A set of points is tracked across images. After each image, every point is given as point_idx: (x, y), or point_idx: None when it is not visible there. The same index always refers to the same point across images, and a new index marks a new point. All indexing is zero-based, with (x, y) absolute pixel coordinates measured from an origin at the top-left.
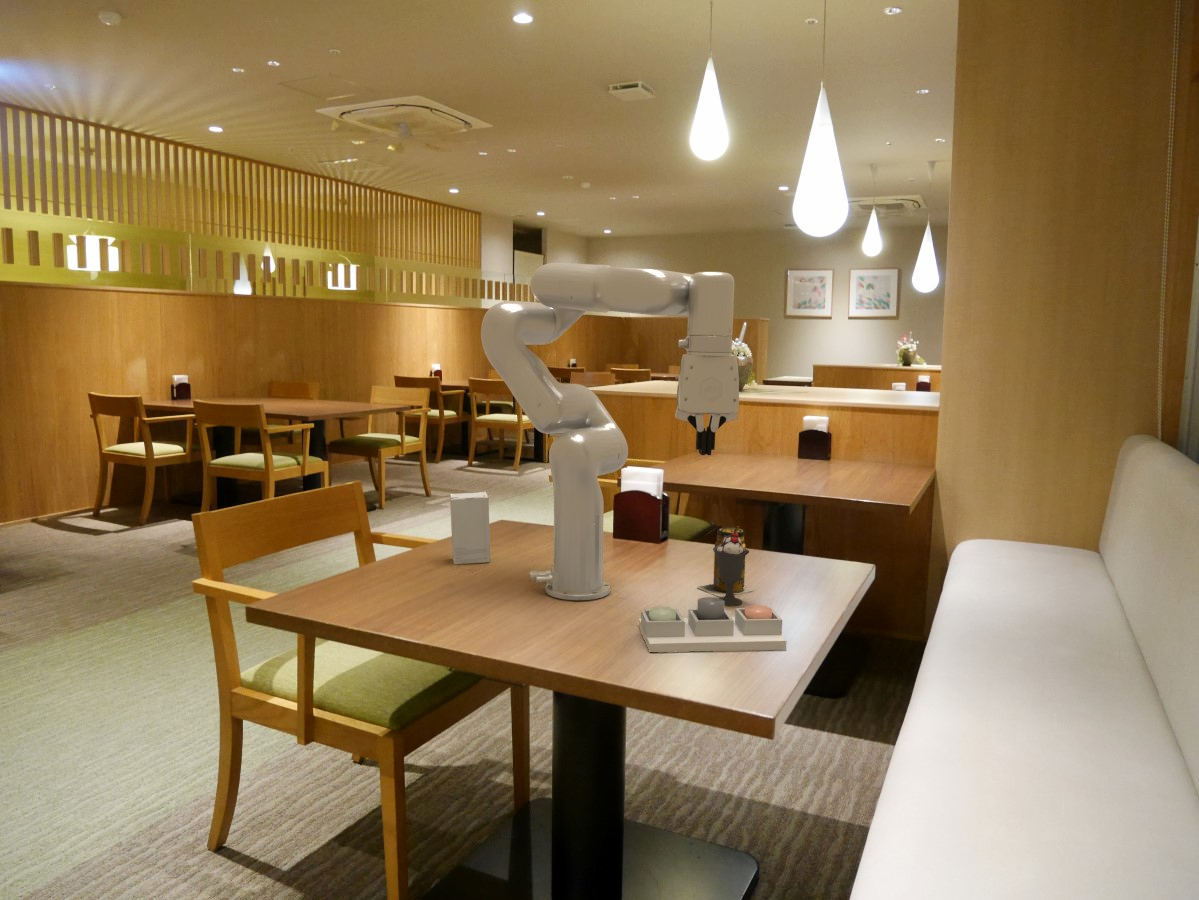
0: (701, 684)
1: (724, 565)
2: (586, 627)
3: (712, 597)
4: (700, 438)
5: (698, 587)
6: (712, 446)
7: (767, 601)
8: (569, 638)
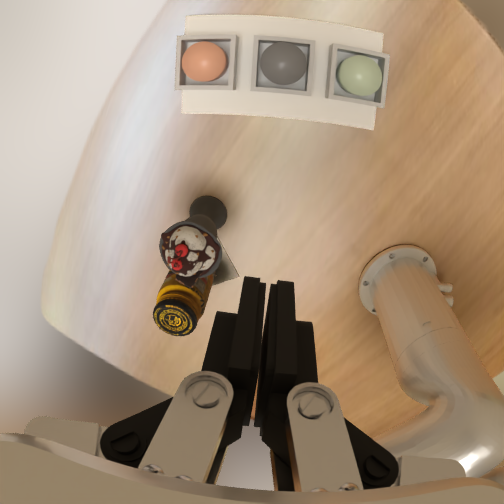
0: None
1: (209, 227)
2: (432, 145)
3: (274, 82)
4: (299, 359)
5: (236, 274)
6: (227, 318)
7: (155, 210)
8: (458, 113)
